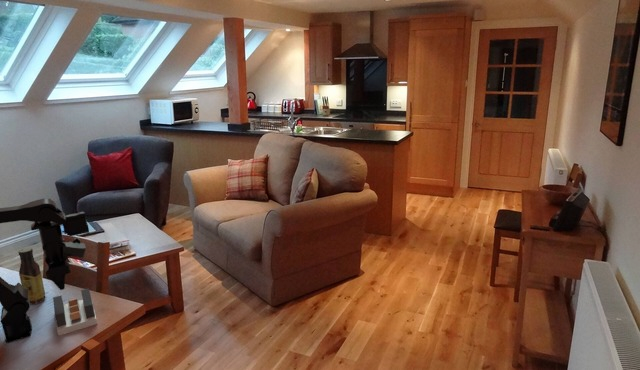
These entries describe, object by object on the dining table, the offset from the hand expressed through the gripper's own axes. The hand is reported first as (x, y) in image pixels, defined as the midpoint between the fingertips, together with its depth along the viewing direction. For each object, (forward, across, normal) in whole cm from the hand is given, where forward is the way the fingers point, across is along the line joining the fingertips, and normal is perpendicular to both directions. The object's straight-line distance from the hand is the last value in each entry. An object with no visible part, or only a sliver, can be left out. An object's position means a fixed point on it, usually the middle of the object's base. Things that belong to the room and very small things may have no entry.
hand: (61, 284), depth 142 cm
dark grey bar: (+11, 0, +2) cm, 11 cm away
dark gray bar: (+11, 0, -6) cm, 12 cm away
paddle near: (+11, -4, -2) cm, 12 cm away
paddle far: (+11, +4, -2) cm, 12 cm away
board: (+13, 0, -2) cm, 13 cm away
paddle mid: (+11, 0, -2) cm, 11 cm away
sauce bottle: (+13, +20, +9) cm, 26 cm away
